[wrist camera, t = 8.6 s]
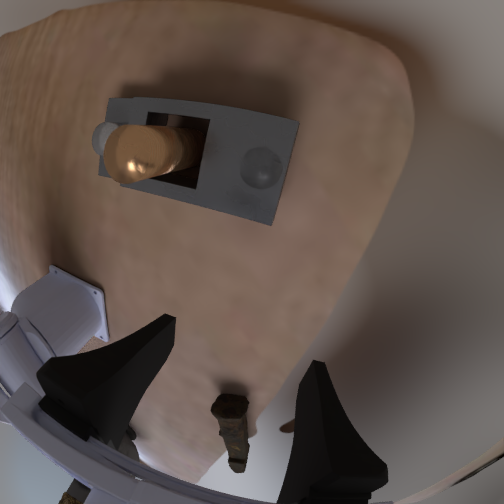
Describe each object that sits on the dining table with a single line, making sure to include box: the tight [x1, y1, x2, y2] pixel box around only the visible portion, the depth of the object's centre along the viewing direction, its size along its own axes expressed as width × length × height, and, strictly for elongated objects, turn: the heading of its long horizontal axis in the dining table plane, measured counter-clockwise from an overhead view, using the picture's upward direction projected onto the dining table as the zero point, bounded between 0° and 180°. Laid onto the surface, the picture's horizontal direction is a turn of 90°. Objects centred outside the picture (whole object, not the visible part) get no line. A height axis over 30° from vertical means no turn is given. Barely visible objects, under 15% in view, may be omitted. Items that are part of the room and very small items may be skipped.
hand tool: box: [211, 394, 250, 473], centre depth 30 cm, size 19×4×5 cm, turn 0°
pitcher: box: [59, 426, 140, 504], centre depth 28 cm, size 11×19×30 cm, turn 3°
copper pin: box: [103, 125, 206, 184], centre depth 15 cm, size 3×3×8 cm
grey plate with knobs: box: [92, 97, 300, 226], centre depth 17 cm, size 15×7×3 cm, turn 77°
